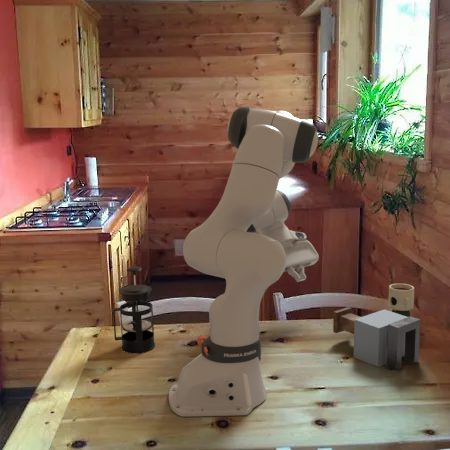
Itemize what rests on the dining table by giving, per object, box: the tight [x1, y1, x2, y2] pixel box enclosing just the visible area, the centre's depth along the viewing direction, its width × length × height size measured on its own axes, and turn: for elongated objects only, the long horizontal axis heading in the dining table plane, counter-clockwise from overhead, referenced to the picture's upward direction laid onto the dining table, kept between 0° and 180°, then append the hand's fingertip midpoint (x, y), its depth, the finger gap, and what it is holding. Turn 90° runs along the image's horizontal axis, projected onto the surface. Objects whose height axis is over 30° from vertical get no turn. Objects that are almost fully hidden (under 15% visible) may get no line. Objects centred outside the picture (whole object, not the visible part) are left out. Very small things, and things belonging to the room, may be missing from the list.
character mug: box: [387, 283, 415, 317], centre depth 170 cm, size 11×7×13 cm, turn 3°
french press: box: [112, 266, 156, 354], centre depth 161 cm, size 12×9×23 cm
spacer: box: [386, 315, 421, 372], centre depth 147 cm, size 3×9×12 cm, turn 126°
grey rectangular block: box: [353, 309, 407, 368], centre depth 153 cm, size 8×12×10 cm, turn 126°
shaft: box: [332, 306, 388, 341], centre depth 157 cm, size 18×6×6 cm, turn 36°
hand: (302, 280), depth 174 cm, fingers closed
